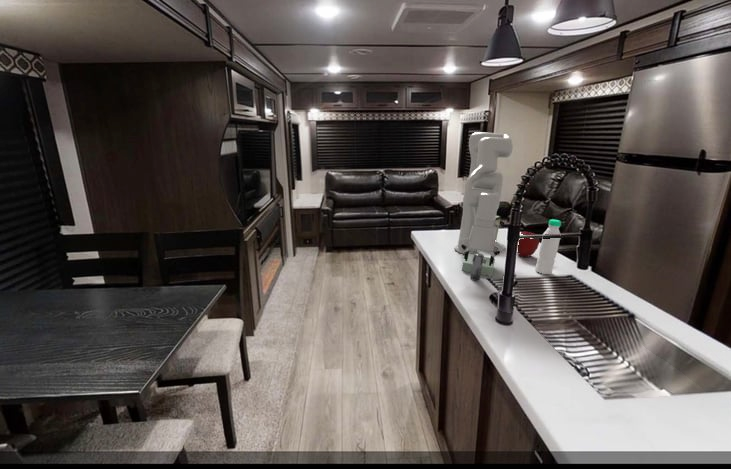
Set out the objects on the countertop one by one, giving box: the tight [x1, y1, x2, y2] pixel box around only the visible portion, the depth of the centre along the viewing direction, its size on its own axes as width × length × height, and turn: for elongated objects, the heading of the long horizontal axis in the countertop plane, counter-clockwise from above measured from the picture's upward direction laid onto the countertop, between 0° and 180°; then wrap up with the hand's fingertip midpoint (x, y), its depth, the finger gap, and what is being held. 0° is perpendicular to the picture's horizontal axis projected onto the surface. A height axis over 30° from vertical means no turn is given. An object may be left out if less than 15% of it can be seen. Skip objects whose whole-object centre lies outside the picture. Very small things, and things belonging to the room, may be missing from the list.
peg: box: [469, 252, 485, 282], centre depth 143 cm, size 4×4×11 cm
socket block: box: [461, 254, 496, 277], centre depth 156 cm, size 13×13×4 cm
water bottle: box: [534, 218, 562, 275], centre depth 153 cm, size 7×7×25 cm
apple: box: [517, 230, 540, 258], centre depth 175 cm, size 12×12×13 cm
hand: (478, 262), depth 142 cm, fingers open, 9 cm apart
